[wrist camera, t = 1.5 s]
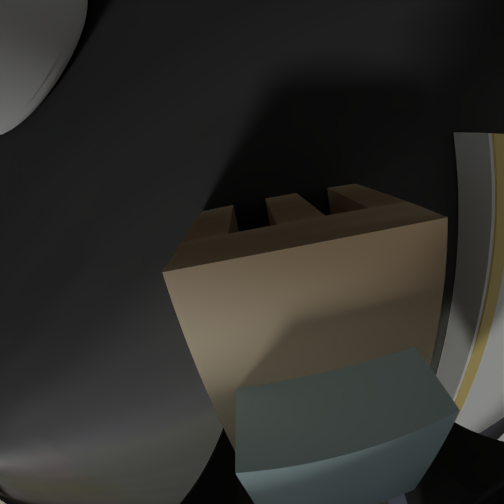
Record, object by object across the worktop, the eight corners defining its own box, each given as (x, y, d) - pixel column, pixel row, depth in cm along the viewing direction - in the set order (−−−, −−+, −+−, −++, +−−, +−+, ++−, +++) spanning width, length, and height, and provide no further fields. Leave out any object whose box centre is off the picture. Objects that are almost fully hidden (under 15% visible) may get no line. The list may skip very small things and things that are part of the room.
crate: (392, 439, 6) (413, 489, 5) (265, 469, 7) (270, 526, 5) (414, 346, 5) (459, 410, 3) (236, 388, 5) (234, 472, 3)
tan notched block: (353, 451, 14) (372, 513, 10) (275, 467, 14) (281, 533, 10) (353, 183, 9) (447, 217, 4) (202, 210, 9) (162, 272, 4)
